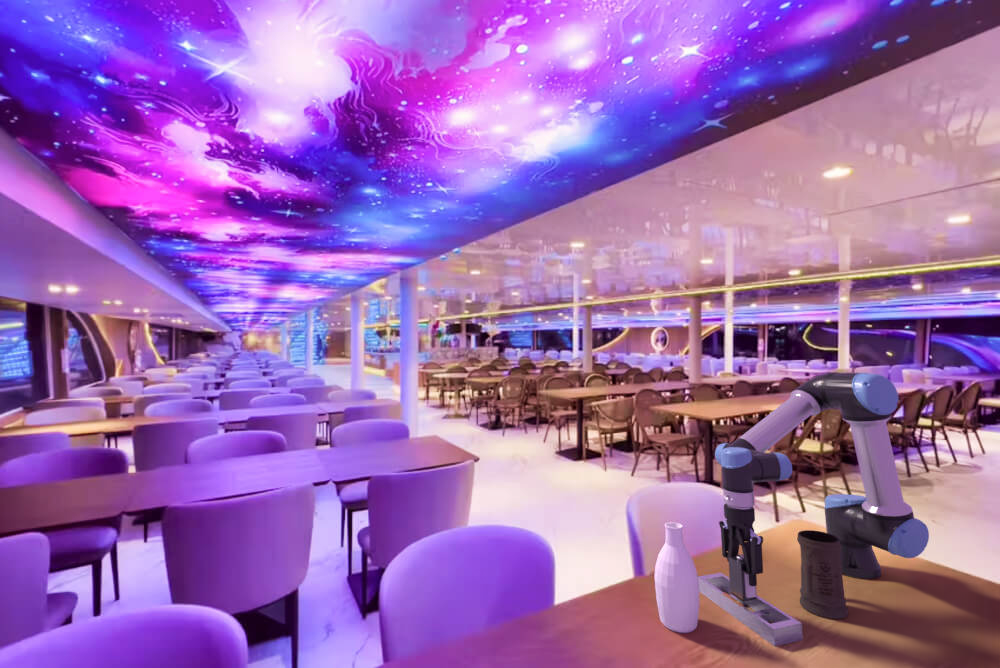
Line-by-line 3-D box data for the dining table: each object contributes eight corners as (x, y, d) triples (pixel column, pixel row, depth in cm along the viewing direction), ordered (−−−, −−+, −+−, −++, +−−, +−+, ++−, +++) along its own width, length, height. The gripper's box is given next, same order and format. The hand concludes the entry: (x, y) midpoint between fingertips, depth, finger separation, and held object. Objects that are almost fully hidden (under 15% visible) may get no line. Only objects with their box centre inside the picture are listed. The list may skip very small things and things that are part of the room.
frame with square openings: (721, 586, 136) (720, 571, 137) (802, 639, 110) (801, 621, 110) (697, 590, 134) (696, 575, 135) (774, 646, 108) (773, 627, 108)
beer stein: (858, 622, 116) (850, 542, 119) (812, 619, 118) (805, 539, 121) (828, 596, 131) (821, 525, 134) (787, 593, 133) (781, 523, 136)
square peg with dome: (743, 591, 125) (741, 552, 126) (756, 599, 121) (754, 559, 121) (730, 593, 124) (728, 554, 125) (742, 601, 120) (740, 561, 120)
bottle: (680, 641, 111) (675, 536, 112) (647, 618, 120) (642, 522, 122) (711, 627, 116) (705, 527, 117) (676, 607, 126) (671, 515, 127)
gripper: (705, 497, 131) (709, 578, 130) (752, 517, 114) (757, 611, 113) (726, 494, 133) (730, 575, 132) (776, 514, 116) (781, 606, 115)
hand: (743, 591), depth 122 cm, fingers closed on square peg with dome, 4 cm apart
